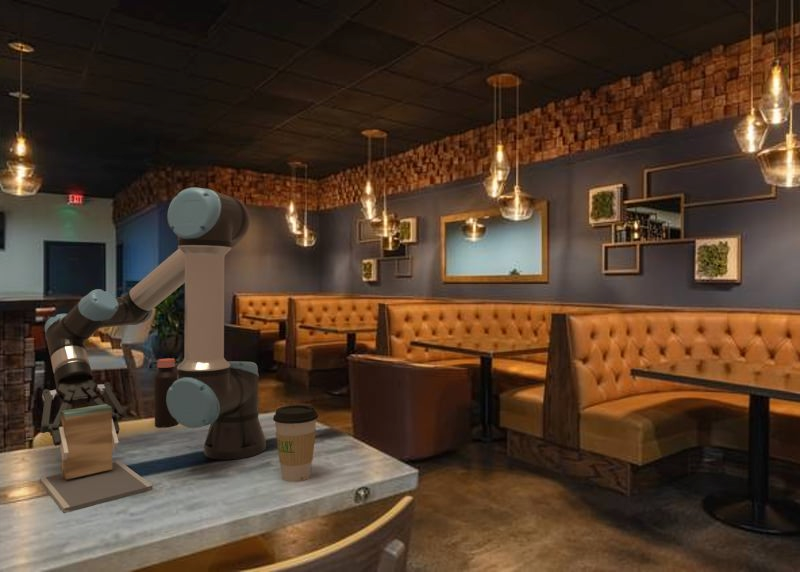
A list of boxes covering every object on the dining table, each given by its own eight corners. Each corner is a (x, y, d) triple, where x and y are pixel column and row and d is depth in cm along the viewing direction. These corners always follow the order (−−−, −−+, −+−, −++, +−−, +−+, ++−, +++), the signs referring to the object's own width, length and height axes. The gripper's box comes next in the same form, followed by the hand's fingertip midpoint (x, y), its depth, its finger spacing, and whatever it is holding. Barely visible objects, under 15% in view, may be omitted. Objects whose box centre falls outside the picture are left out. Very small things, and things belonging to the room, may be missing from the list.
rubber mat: (40, 482, 116) (39, 478, 116) (119, 464, 127) (119, 460, 127) (63, 512, 100) (63, 508, 100) (152, 489, 111) (152, 485, 111)
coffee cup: (277, 469, 123) (276, 404, 123) (320, 468, 124) (319, 403, 124) (270, 485, 113) (269, 415, 113) (317, 484, 114) (316, 414, 114)
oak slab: (61, 474, 117) (61, 410, 116) (107, 464, 123) (106, 404, 123) (66, 479, 114) (65, 414, 114) (112, 469, 120) (111, 407, 120)
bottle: (149, 426, 161) (148, 360, 161) (167, 421, 168) (166, 357, 167) (166, 428, 159) (165, 361, 159) (183, 423, 165) (183, 358, 165)
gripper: (118, 373, 137) (140, 449, 125) (14, 385, 122) (29, 472, 110) (124, 355, 133) (147, 431, 121) (18, 365, 118) (33, 453, 106)
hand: (91, 451), depth 116 cm, fingers closed on oak slab, 9 cm apart
